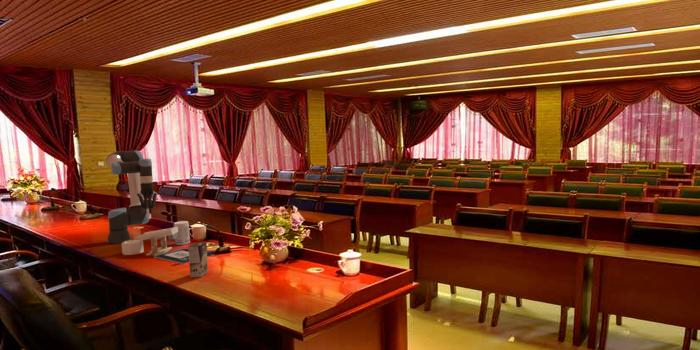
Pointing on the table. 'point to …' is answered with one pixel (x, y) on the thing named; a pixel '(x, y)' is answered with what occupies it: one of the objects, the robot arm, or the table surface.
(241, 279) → the table surface
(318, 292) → the table surface
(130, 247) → the cup
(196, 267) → the coffee box
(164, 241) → the chute stand
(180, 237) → the supplement tub
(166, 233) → the seesaw chute
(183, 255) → the sketchbook
